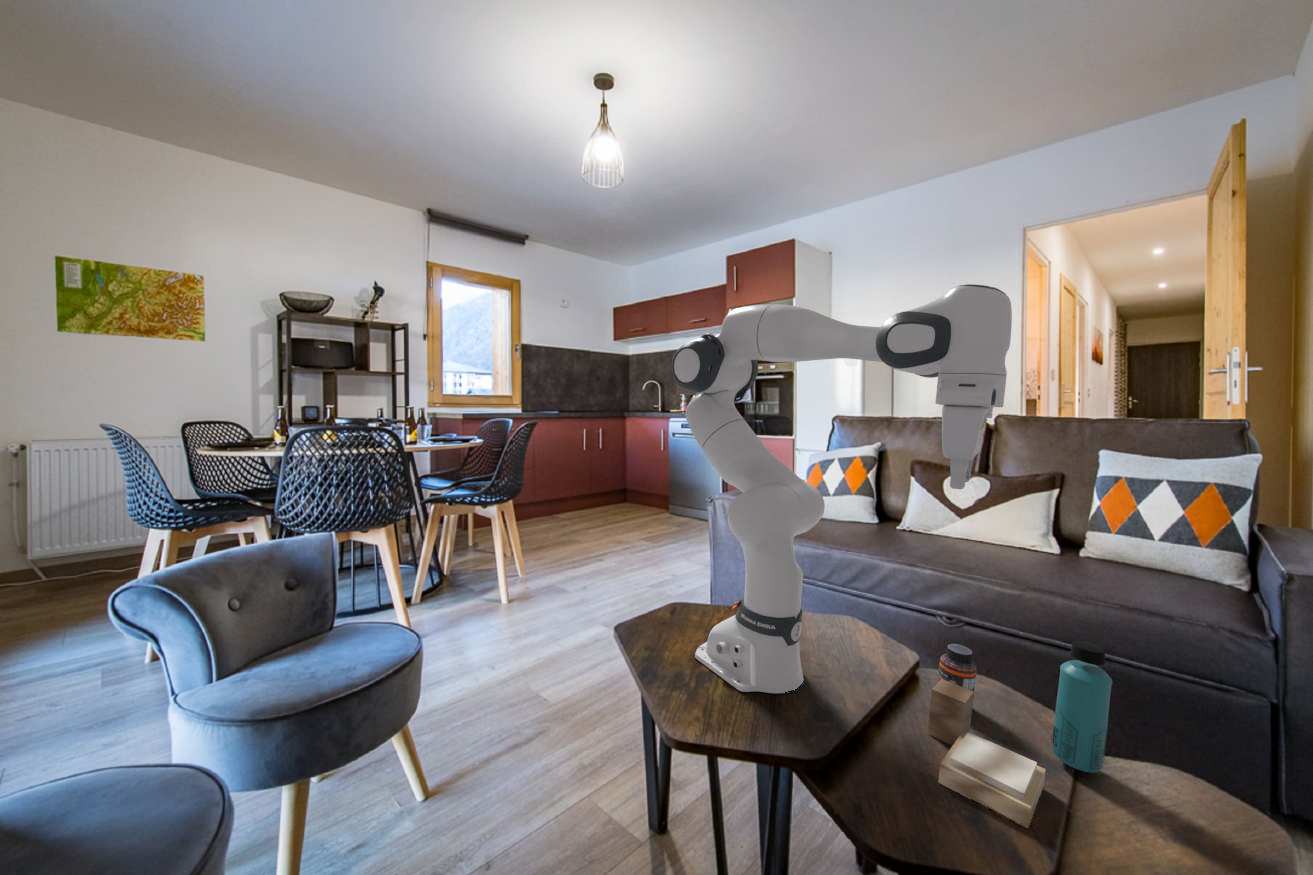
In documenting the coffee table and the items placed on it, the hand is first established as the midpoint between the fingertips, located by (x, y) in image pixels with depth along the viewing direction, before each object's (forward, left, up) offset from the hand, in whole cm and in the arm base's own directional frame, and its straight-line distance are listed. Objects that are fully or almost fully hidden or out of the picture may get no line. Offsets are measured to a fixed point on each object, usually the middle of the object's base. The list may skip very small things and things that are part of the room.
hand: (960, 484), depth 79 cm
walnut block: (0, +7, -44) cm, 44 cm away
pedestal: (+8, -1, -44) cm, 44 cm away
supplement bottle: (-2, +17, -44) cm, 47 cm away
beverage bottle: (+16, +14, -44) cm, 49 cm away
